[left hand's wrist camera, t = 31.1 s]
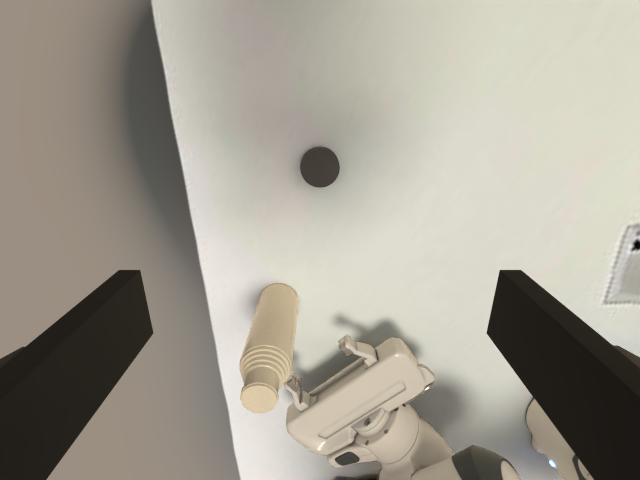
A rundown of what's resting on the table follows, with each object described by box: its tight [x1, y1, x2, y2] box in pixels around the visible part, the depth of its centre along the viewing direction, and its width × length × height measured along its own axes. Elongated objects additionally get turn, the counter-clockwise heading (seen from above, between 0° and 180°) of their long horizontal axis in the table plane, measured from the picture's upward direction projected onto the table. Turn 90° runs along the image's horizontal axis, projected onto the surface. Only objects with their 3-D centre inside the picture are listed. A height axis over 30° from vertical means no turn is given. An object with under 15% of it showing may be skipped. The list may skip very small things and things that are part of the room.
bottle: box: [240, 284, 299, 413], centre depth 40 cm, size 6×6×18 cm
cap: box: [301, 147, 339, 187], centre depth 41 cm, size 4×5×2 cm
